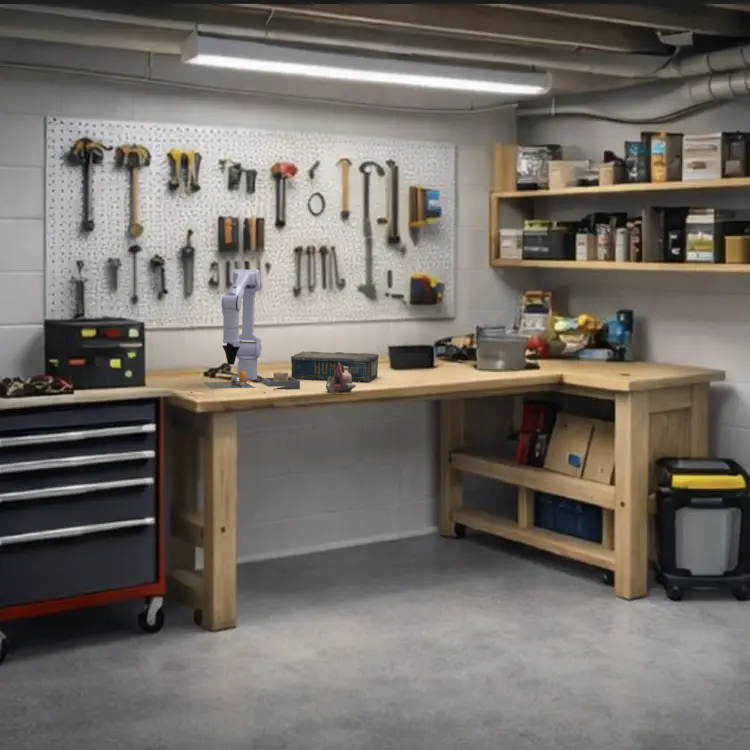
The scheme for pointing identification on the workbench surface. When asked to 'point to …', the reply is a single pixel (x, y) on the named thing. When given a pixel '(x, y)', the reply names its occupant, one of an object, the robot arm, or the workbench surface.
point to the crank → (239, 378)
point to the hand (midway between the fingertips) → (231, 364)
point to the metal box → (334, 365)
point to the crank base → (226, 385)
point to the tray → (282, 383)
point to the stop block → (280, 376)
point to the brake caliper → (340, 381)
